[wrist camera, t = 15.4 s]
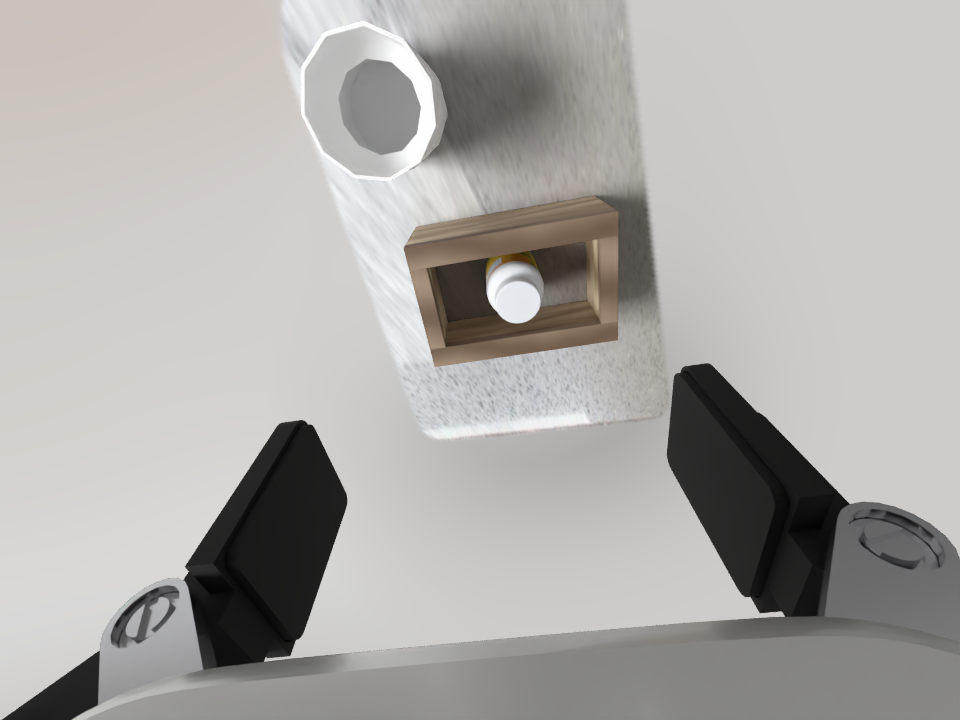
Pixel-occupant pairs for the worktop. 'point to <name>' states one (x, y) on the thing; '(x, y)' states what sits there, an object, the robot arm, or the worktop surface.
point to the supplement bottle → (514, 286)
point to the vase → (371, 102)
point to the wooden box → (511, 236)
